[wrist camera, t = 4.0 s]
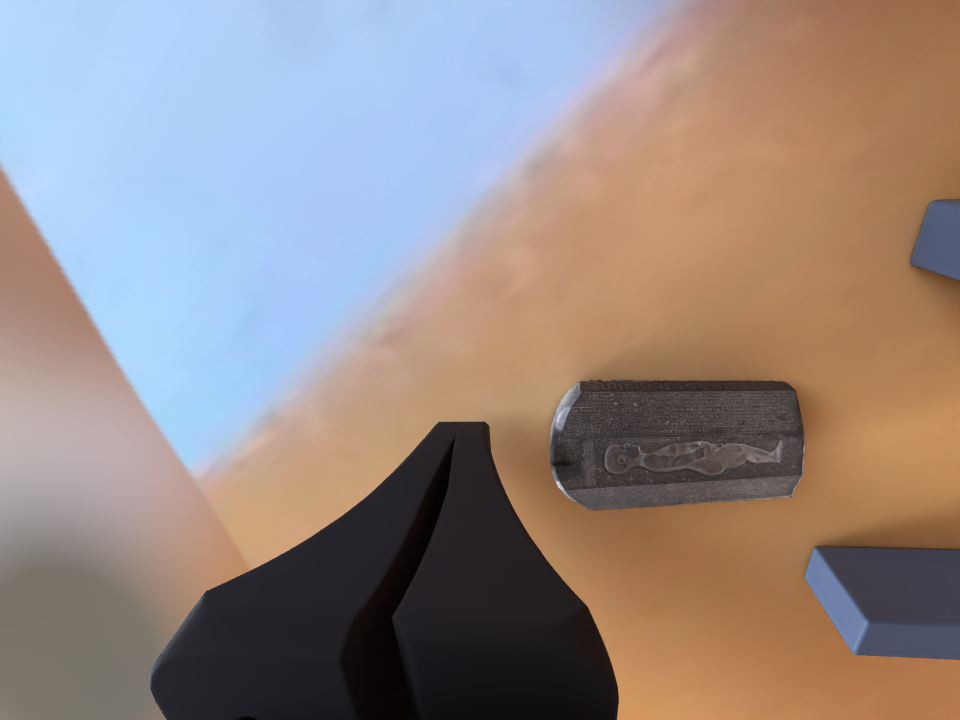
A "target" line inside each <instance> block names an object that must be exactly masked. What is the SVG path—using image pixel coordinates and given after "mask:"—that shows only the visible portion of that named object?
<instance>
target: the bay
mask: <svg viewBox="0 0 960 720" xmlns="http://www.w3.org/2000/svg"><path fill="white" fill-rule="evenodd" d="M910 264H911V265H913V266H916V267H919V268H922V269H925V270H928V271H931V272H934V273H938V274H941V275H944V276H947V277H950V278H953V279H956V280H959V281H960V199H947V200H935V201H932V202H930V204H929V206H928V209H927V212H926V215H925V218H924V221H923V224H922V227H921V230H920V233H919V236H918V239H917V242H916V245H915V248H914V251H913V254H912V257H911V260H910ZM805 580H806V581H807V583H808V585H809V586H810V588H811V589H812V591H813V592H814V594H815V596H816V597H817V599H818V600H819V602H820V603H821V605H822V607H823V608H824V610H825V611H826V613H827V614H828V616H829V618H830V619H831V621H832V622H833V624H834V625H835V627H836V629H837V630H838V632H839V633H840V635H841V636H842V638H843V640H844V641H845V643H846V644H847V646H848V647H849V649H850V651H851V652H852V653H853V654H855V655H867V656H888V657H910V658H931V659H953V660H960V550H948V549H905V548H862V547H820V546H817V547H814V549H813V552H812V555H811V558H810V561H809V564H808V567H807V570H806V573H805Z"/></svg>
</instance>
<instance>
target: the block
mask: <svg viewBox="0 0 960 720" xmlns="http://www.w3.org/2000/svg"><path fill="white" fill-rule="evenodd" d="M590 381H592V380H590ZM550 437H551V438H550V463H551V468H552V474H553V476H554V479H555V481H556V483H557V485H558V487H559V489H561V491H562V492H563V493H564V494H565V496H567V497H569V498H570V499H571V500H572V501H574V502H576V503H578V504H579V505H581V506H583V507H585V508H586V509H588V510H593V511H595V510H612V509H625V508H626V509H627V508H641V507H656V506H673V505H684V504H699V503H712V502H729V501H748V500H765V499H772V498H773V499H775V498H791V497H792V494H793V493H794V490H795V489H796V486H797V484H798V483H799V481H800V480H801V478H802V475H803V464H804V452H805V433H804V429H803V424H802V419H801V414H800V409H799V404H798V399H797V394H796V390H795V389H794V388H792V386H790V385H789V384H788V383H787V382H780V381H779V382H776V381H754V382H751V381H634V380H613V381H611V380H610V381H605V382H604V381H602V380H601V381H600V380H599V381H598V380H597V381H596V382H595V381H593V382H582V381H579V382H577V383H576V384H575V385H574V386H573V387H572V388H571V389H570V390H569V391H568V392H567V394H566V395H565V396H564V397H563V399H562V400H561V402H560V404H559V405H558V407H557V409H556V411H555V414H554V417H553V420H552V425H551V434H550Z"/></svg>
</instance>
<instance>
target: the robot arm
mask: <svg viewBox="0 0 960 720" xmlns="http://www.w3.org/2000/svg"><path fill="white" fill-rule="evenodd" d="M150 688H151V691H152V694H153V696H154V699H155V701H156V703H157V705H158V706H159V708H160V710H161V711H162V713H163V715H164V716H165V718H166V719H167V720H617V713H618V703H619V697H618V687H617V682H616V678H615V674H614V671H613V667H612V664H611V661H610V658H609V655H608V653H607V650H606V647H605V645H604V642H603V640H602V638H601V635H600V633H599V631H598V628H597V626H596V624H595V622H594V620H593V617H592V615H591V613H590V611H589V609H588V607H587V606H586V605H585V603H584V602H583V601H582V600H581V599H580V598H579V597H578V596H577V595H576V594H575V593H574V592H573V591H572V590H571V589H570V587H569V586H568V585H567V584H566V583H565V582H564V581H563V580H562V578H561V577H560V576H559V575H558V573H557V572H556V571H555V570H554V569H553V567H552V566H551V565H550V564H549V562H548V561H547V560H546V558H545V557H544V556H543V554H542V553H541V551H540V550H539V548H538V547H537V546H536V544H535V543H534V541H533V540H532V539H531V537H530V536H529V534H528V533H527V531H526V529H525V528H524V526H523V524H522V523H521V521H520V519H519V518H518V516H517V514H516V512H515V510H514V509H513V507H512V505H511V503H510V501H509V499H508V496H507V494H506V492H505V490H504V488H503V485H502V483H501V480H500V478H499V475H498V473H497V470H496V467H495V464H494V461H493V457H492V454H491V445H490V430H489V425H488V424H487V423H486V422H438V423H437V424H436V425H435V426H434V427H433V429H432V430H431V431H430V432H429V433H428V434H427V436H426V437H425V438H424V439H423V440H422V441H421V443H420V444H419V445H418V446H417V447H416V448H415V449H414V451H413V452H412V453H411V454H410V455H409V456H408V457H407V458H406V459H405V460H404V461H403V462H402V463H401V464H400V466H399V467H398V468H397V469H396V470H395V471H394V472H393V473H392V474H391V475H390V476H389V477H387V478H386V479H385V480H384V481H383V482H382V483H381V484H380V485H379V486H378V487H377V488H376V489H375V490H374V491H373V492H372V493H370V494H369V495H368V496H367V497H366V498H365V499H363V500H362V501H361V502H360V503H358V504H357V505H356V506H354V507H353V508H352V509H351V510H349V511H348V512H347V513H345V514H344V515H343V516H341V517H340V518H338V519H337V520H336V521H334V522H333V523H331V524H330V525H328V526H327V527H325V528H324V529H322V530H321V531H319V532H318V533H316V534H315V535H313V536H312V537H310V538H309V539H307V540H305V541H304V542H302V543H300V544H299V545H297V546H295V547H294V548H292V549H290V550H289V551H287V552H285V553H283V554H281V555H280V556H278V557H276V558H274V559H272V560H270V561H269V562H267V563H265V564H263V565H261V566H259V567H257V568H255V569H253V570H251V571H249V572H247V573H245V574H243V575H240V576H238V577H236V578H234V579H232V580H230V581H228V582H226V583H223V584H221V585H219V586H217V587H215V588H213V589H210V590H208V591H206V592H205V593H204V595H203V596H202V597H201V599H200V600H199V601H198V603H197V604H196V605H195V607H194V608H193V609H192V611H191V612H190V613H189V615H188V616H187V618H186V619H185V621H184V622H183V623H182V625H181V626H180V627H179V629H178V630H177V632H176V633H175V635H174V636H173V637H172V639H171V640H170V642H169V643H168V645H167V646H166V647H165V649H164V650H163V652H162V653H161V655H160V656H159V657H158V659H157V660H156V662H155V664H154V665H153V667H152V669H151V671H150Z"/></svg>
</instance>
